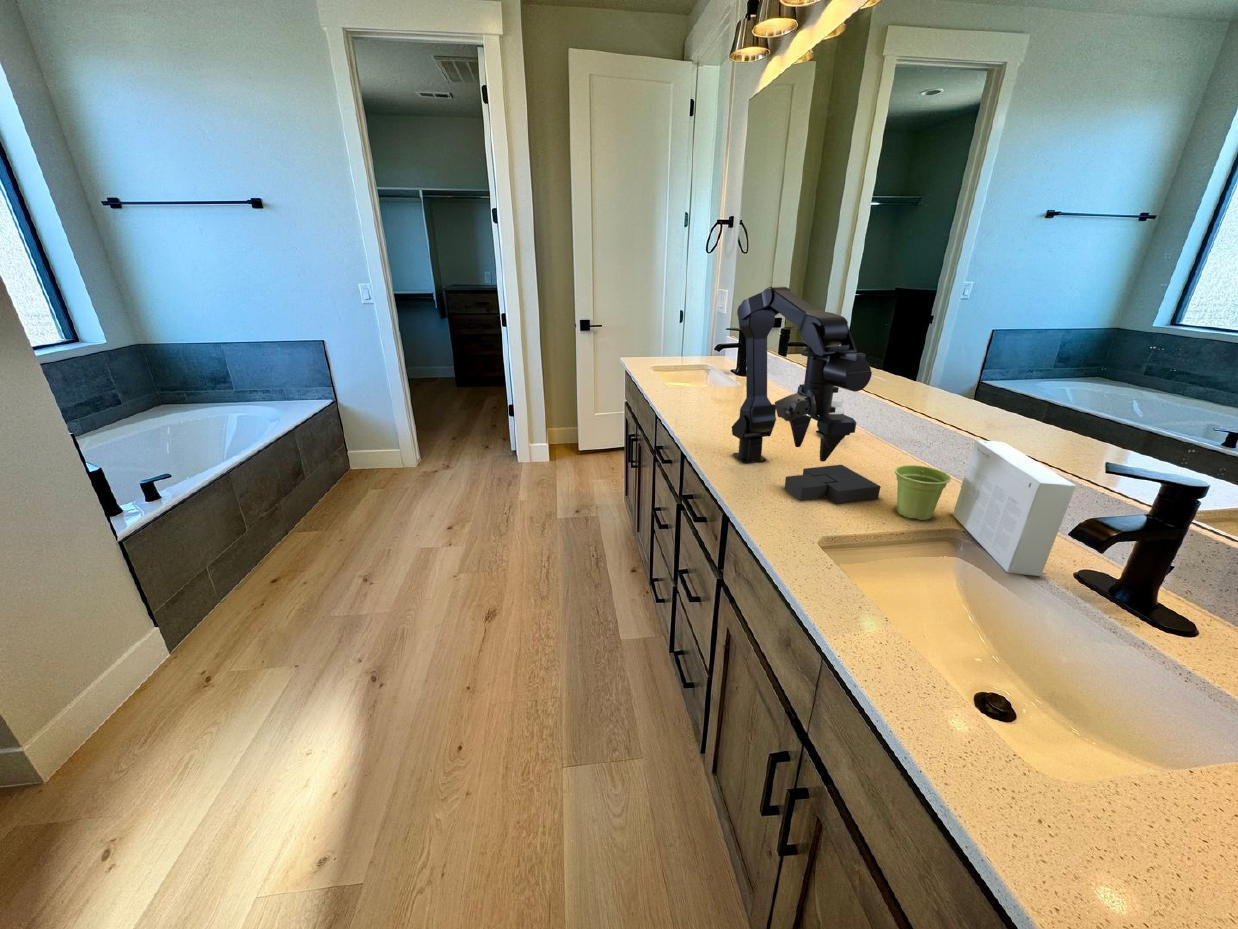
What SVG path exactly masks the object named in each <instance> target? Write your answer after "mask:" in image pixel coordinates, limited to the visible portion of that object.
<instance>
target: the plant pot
mask: <svg viewBox="0 0 1238 929" xmlns="http://www.w3.org/2000/svg"><path fill="white" fill-rule="evenodd" d="M894 473H895V475H896V482H897V488H896V489H897V490H896V491H897V492H896V511H897V513H898V514H899V515H900V516H902V517H905V518H908V519H917V520H920V521H927V520H930V519H931V518H932V517H933V514H934V512H935V510H936V508H937V504H938V502H939V500H940V498H941V495H942V493H943V490H944V489H945V488H946V486H947V484H948V483H950V482H951V480H952V477H951V476H950V474H948V473H946V472H945V471H944V470H940V469H938V468H933V467H930V466H925V465H916V464H905V465H899V466H897V467H895V469H894Z"/></svg>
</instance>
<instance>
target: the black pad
mask: <svg viewBox="0 0 1238 929" xmlns="http://www.w3.org/2000/svg"><path fill="white" fill-rule="evenodd" d="M784 480H785V481H784V490H785V491H787V492H788V493H789V494H791V495H792V496H793V497H794V498H796V499H797V500H799V502H800V501H801V502H803V501H810V500H811V501H812V500H818V499H826V498H827V497H826V491H827V485H826V483H834V482H835V480H833V479H831V478H830V477H828V476H826V475H823V476H812V475H811V474H806V475H803V474H797V475H789V476H785V479H784Z"/></svg>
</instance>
